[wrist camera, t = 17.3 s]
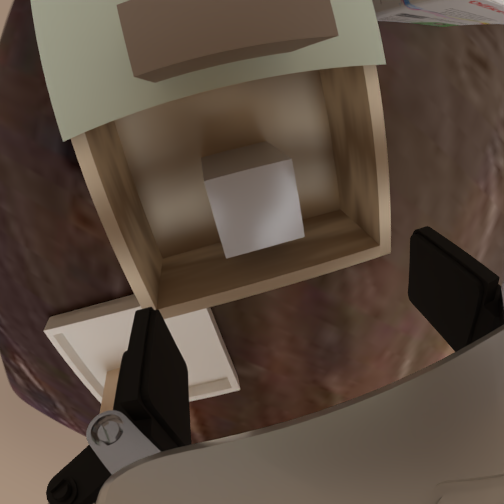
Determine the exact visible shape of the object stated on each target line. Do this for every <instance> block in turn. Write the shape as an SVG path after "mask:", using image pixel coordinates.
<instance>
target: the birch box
mask: <svg viewBox="0 0 504 504" xmlns="http://www.w3.org/2000/svg"><path fill="white" fill-rule="evenodd" d="M71 141H72V144H73V147H74V150H75V153H76V156H77V159H78V162H79V165H80V168H81V170H82V173H83V176H84V179H85V181H86V184H87V187H88V189H89V192H90V195H91V197H92V200H93V202H94V205H95V207H96V210H97V212H98V215H99V217H100V220H101V222H102V224H103V227H104V229H105V232H106V234H107V236H108V238H109V241H110V243H111V245H112V248H113V250H114V252H115V254H116V256H117V259H118V261H119V263H120V265H121V267H122V269H123V271H124V274H125V276H126V278H127V280H128V282H129V284H130V286H131V288H132V290H133V292H134V294H135V296H136V298H137V300H138V302H139V304H140V306H141V308H142V309H144V308H148V307H152V308H153V309H154V310H157V309H158V310H159V311H160V313H161V315H162V317H163V319H167V318H171V317H175V316H179V315H182V314H186V313H190V312H194V311H198V310H201V309H205V308H209V307H213V306H216V305H220V304H224V303H227V302H231V301H235V300H238V299H242V298H245V297H249V296H252V295H256V294H259V293H263V292H266V291H270V290H273V289H277V288H280V287H284V286H287V285H290V284H294V283H297V282H300V281H304V280H307V279H310V278H314V277H317V276H320V275H323V274H327V273H330V272H333V271H336V270H340V269H343V268H346V267H349V266H352V265H355V264H359V263H362V262H365V261H368V260H371V259H374V258H377V257H380V256H383V255H386V254H389V253H391V212H390V186H389V169H388V155H387V144H386V134H385V124H384V116H383V108H382V100H381V93H380V87H379V80H378V74H377V68H376V65H363V66H350V67H339V68H329V69H320V70H312V71H305V72H298V73H291V74H285V75H279V76H273V77H268V78H262V79H257V80H252V81H247V82H243V83H238V84H233V85H229V86H225V87H221V88H216V89H212V90H208V91H205V92H201V93H197V94H193V95H190V96H186V97H183V98H179V99H176V100H173V101H169V102H166V103H163V104H160V105H157V106H154V107H150V108H147V109H145V110H142V111H139V112H136V113H133V114H130V115H127V116H125V117H122V118H119V119H117V120H114V121H111V122H109V123H106V124H104V125H101V126H99V127H96V128H94V129H91V130H89V131H87V132H84V133H82V134H80V135H77V136H75V137H73V138H71ZM265 141H267V142H268V143H270V144H271V145H273V146H274V147H276V148H277V149H278V150H280V151H281V152H283V153H284V154H286V155H287V156H288V157H290V158H291V159H292V162H293V168H294V174H295V179H296V185H297V191H298V197H299V203H300V209H301V215H302V221H303V228H304V234H305V237H303V238H299V239H295V240H292V241H288V242H285V243H281V244H277V245H274V246H270V247H267V248H263V249H259V250H256V251H252V252H249V253H245V254H241V255H238V256H234V257H231V258H227V259H226V256H225V253H224V250H223V246H222V243H221V240H220V236H219V233H218V229H217V226H216V222H215V219H214V216H213V212H212V209H211V205H210V202H209V198H208V195H207V191H206V188H205V184H204V180H203V171H202V163H201V158H202V157H205V156H209V155H213V154H216V153H220V152H224V151H228V150H232V149H236V148H240V147H244V146H248V145H252V144H256V143H260V142H265Z"/></svg>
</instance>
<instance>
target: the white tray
mask: <svg viewBox="0 0 504 504" xmlns="http://www.w3.org/2000/svg"><path fill="white" fill-rule="evenodd" d="M140 309H142V308H141V306H140V304H139V302H138V300H137V298H136V296H135V294H133V295H129V296H126V297H122V298H118V299H115V300H111V301H107V302H104V303H100V304H96V305H92V306H89V307H85V308H81V309H78V310H74V311H70V312H66V313H63V314H59V315H55V316H51V317H50V318H49V320H48V322H47V324H46V326H45V328H44V332H45V334H46V335H47V337H48V338H49V339H50V341H51V342H52V344H53V345H54V346H55V348H56V349H57V350H58V352H59V353H60V354H61V356H62V357H63V358H64V360H65V361H66V362H67V364H68V365H69V366H70V367H71V369H72V370H73V371H74V372H75V374H76V375H77V376H78V377H79V379H80V380H81V381H82V382H83V383H84V385H85V386H86V387H87V388H88V389H89V390H90V392H91V393H92V394H93V395H94V396H95V397H96V398H97V400H98V401H99V402H100V403H102V397H103V391H104V385H105V380H106V375H107V372H108V371H111V370H114V369H117V368H120V365H121V360H122V356H123V353H124V352H125V351H127V350H128V345H129V340H130V335H131V330H132V325H133V320H134V316H135V312H136V311H137V310H140ZM164 321H165V323H166V325H167V327H168V329H169V331H170V333H171V335H172V337H173V339H174V341H175V343H176V345H177V347H178V349H179V351H180V353H181V355H182V357H183V358H184V360H185V362H186V365H187V368H188V387H189V401H194V400H199V399H204V398H208V397H213V396H217V395H222V394H226V393H230V392H234V391H238V390H240V384H239V379H238V375H237V372H236V370H235V368H234V365H233V363H232V360H231V358H230V356H229V353H228V351H227V348H226V346H225V343H224V341H223V338H222V336H221V333H220V331H219V328H218V326H217V323H216V321H215V318H214V315H213V313H212V310H211V308H210V307H209V308H205V309H201V310H198V311H194V312H190V313H186V314H182V315H179V316H175V317H171V318H167V319H164Z"/></svg>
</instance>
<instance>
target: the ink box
mask: <svg viewBox="0 0 504 504" xmlns="http://www.w3.org/2000/svg"><path fill="white" fill-rule="evenodd" d="M372 2H373V6H374V10H375V14H376V18H377V21H390V22H404V23H415V24H424V25H433V26H440V27H445V26H456V25H472V24H504V0H372Z"/></svg>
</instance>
